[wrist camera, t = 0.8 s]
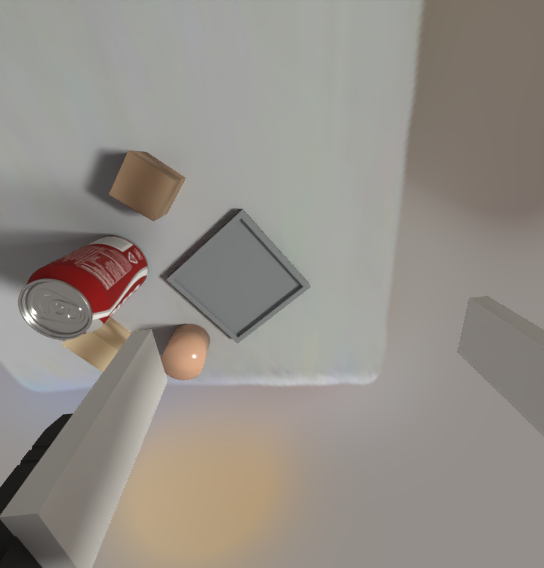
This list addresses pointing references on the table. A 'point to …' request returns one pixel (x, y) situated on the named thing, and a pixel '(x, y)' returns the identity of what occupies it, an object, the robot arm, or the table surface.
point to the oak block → (99, 344)
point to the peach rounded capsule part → (186, 352)
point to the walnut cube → (146, 185)
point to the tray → (239, 278)
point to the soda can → (83, 288)
